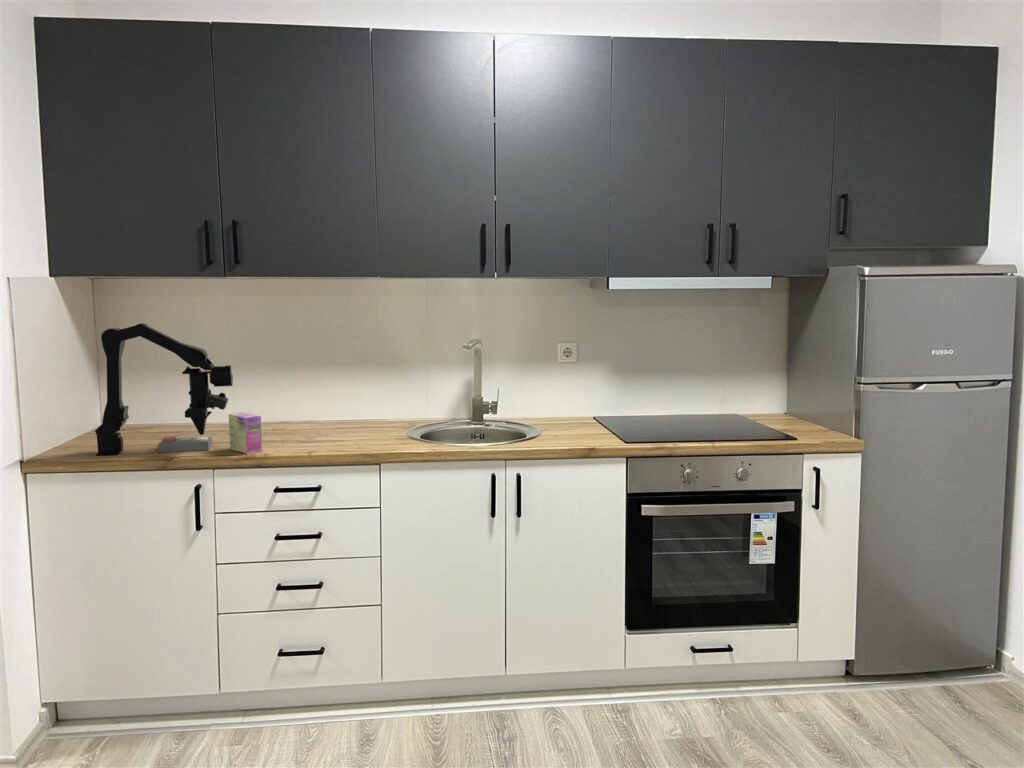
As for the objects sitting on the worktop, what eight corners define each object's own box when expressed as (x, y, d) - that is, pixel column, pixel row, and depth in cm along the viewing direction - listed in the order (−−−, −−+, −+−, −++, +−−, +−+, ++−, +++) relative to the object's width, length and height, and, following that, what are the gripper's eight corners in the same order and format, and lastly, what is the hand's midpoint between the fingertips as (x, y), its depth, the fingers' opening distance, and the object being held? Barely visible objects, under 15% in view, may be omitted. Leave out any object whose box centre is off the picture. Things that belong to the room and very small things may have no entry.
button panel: (158, 452, 251) (158, 443, 250) (164, 447, 258) (163, 438, 257) (208, 450, 254) (207, 441, 253) (212, 445, 261) (211, 436, 260)
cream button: (196, 445, 255) (195, 439, 254) (197, 443, 258) (197, 437, 258) (206, 445, 255) (206, 439, 255) (208, 443, 258) (207, 437, 258)
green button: (179, 446, 254) (179, 440, 253) (181, 444, 257) (181, 438, 257) (190, 445, 254) (189, 439, 254) (192, 443, 257) (191, 437, 257)
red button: (163, 444, 253) (162, 438, 252) (165, 442, 256) (164, 436, 255) (173, 443, 253) (173, 437, 253) (175, 441, 256) (175, 435, 256)
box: (262, 451, 252) (261, 415, 250) (246, 454, 248) (244, 417, 246) (245, 447, 259) (244, 411, 257) (229, 449, 255) (227, 413, 253)
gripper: (220, 390, 247) (223, 439, 249) (229, 382, 265) (232, 428, 267) (183, 391, 244) (186, 440, 246) (194, 383, 262) (197, 429, 265)
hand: (201, 434), depth 256 cm, fingers closed
